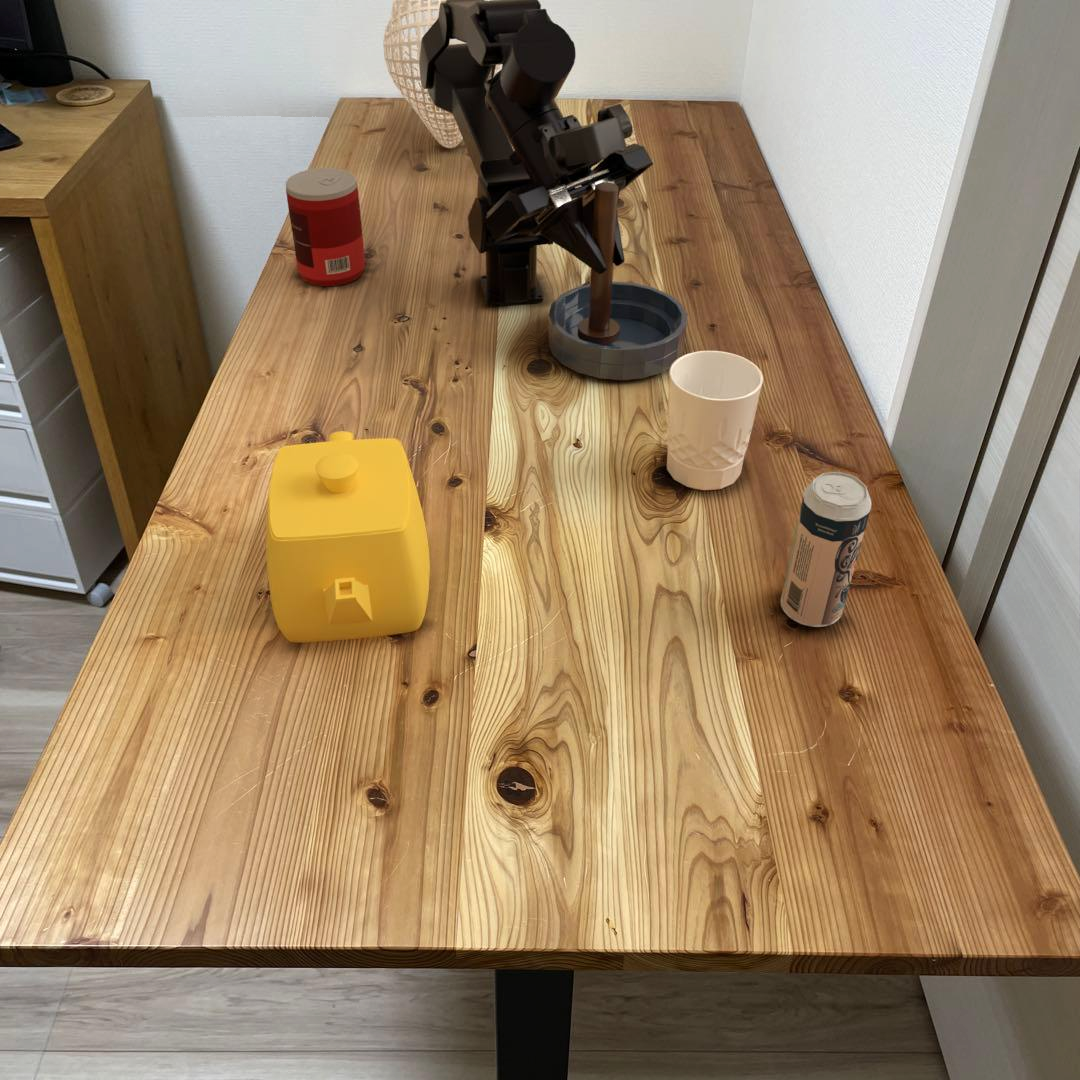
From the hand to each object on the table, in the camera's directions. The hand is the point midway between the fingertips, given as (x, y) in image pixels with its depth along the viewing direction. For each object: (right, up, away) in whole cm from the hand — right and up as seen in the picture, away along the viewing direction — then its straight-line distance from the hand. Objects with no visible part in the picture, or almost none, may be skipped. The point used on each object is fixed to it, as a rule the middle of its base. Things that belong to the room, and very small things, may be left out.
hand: (612, 268), depth 106 cm
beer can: (+14, -33, -23) cm, 42 cm away
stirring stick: (-1, -5, +6) cm, 8 cm away
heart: (-20, +30, +49) cm, 61 cm away
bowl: (+1, -7, +7) cm, 10 cm away
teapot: (-22, -31, -22) cm, 44 cm away
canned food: (-32, +4, +19) cm, 37 cm away
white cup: (+8, -21, -9) cm, 24 cm away
